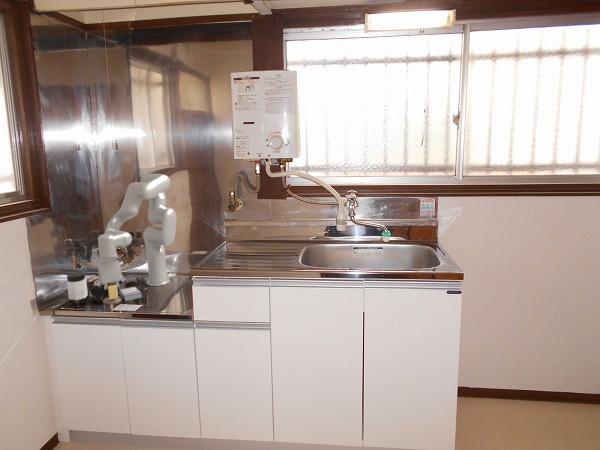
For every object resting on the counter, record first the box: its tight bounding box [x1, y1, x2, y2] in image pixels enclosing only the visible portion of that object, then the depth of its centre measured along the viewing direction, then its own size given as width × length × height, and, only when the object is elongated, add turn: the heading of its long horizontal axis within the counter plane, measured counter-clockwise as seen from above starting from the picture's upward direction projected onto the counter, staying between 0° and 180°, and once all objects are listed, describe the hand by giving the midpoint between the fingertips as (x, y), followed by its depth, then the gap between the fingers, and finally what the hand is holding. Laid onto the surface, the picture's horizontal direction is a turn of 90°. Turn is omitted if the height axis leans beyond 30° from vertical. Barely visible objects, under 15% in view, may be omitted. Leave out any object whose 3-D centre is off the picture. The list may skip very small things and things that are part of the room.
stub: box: [107, 282, 119, 299], centre depth 218 cm, size 4×5×6 cm
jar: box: [66, 271, 89, 301], centre depth 224 cm, size 9×8×12 cm
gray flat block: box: [118, 286, 143, 302], centre depth 226 cm, size 8×12×3 cm, turn 35°
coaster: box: [102, 295, 124, 305], centre depth 220 cm, size 9×9×1 cm
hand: (112, 294), depth 219 cm, fingers closed on stub, 3 cm apart
